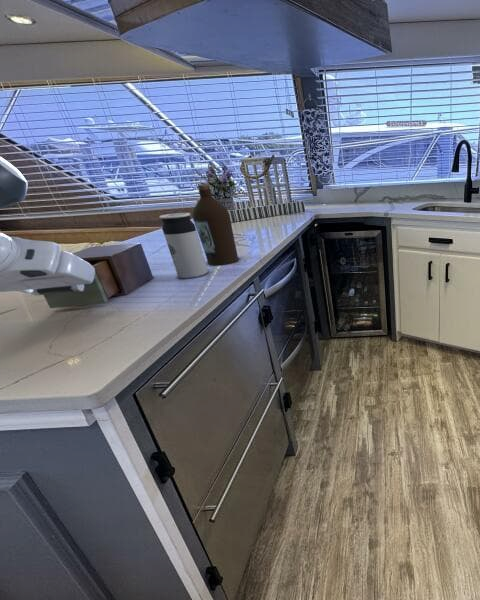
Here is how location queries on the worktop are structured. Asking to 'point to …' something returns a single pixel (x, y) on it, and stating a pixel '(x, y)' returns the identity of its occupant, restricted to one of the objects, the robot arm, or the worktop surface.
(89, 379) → the worktop surface
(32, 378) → the worktop surface
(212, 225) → the olive oil
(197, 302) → the worktop surface
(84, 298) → the drawer
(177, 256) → the travel mug
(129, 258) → the storage box
